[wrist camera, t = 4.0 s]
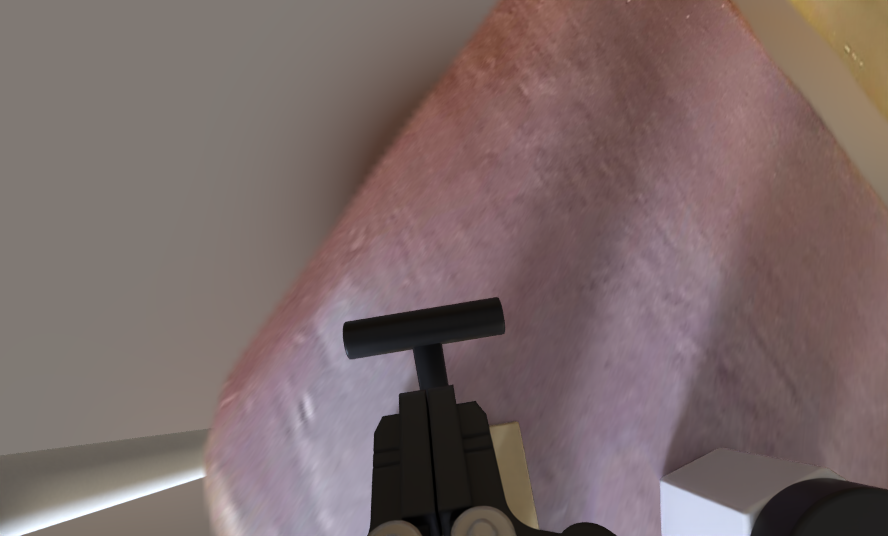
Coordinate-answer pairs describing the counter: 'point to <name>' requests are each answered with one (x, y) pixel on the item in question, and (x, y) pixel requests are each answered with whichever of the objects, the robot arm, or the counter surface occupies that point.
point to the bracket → (514, 471)
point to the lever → (424, 334)
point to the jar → (767, 499)
